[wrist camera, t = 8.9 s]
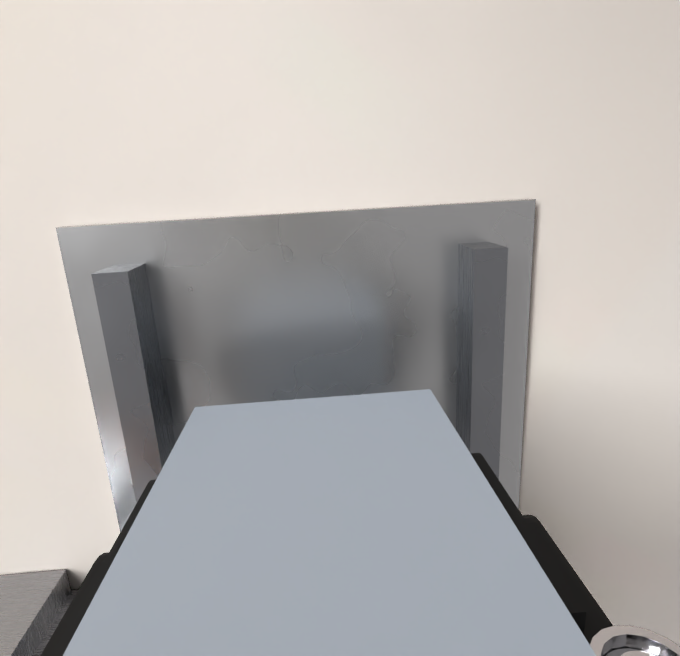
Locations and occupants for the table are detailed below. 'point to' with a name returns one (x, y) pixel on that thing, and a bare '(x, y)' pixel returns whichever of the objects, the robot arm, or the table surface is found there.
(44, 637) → the copper disc holder
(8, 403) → the table surface
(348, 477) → the light blue block
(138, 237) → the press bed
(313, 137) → the table surface
